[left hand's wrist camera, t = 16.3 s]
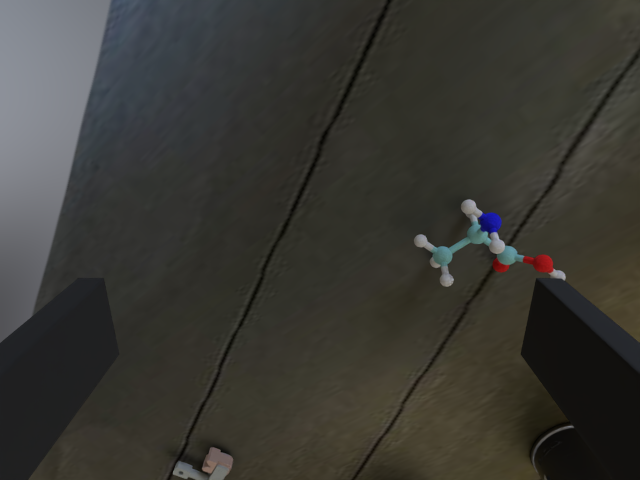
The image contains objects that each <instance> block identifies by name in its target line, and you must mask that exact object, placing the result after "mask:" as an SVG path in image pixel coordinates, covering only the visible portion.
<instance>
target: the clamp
mask: <svg viewBox="0 0 640 480" xmlns="http://www.w3.org/2000/svg"><path fill="white" fill-rule="evenodd" d="M220 451H221V450H219V449H217V448H214V447H211V448H210V451H209V454H208V455H206V457H205V460H204V464H203V467H202V469H203V471H205V472H208V474H206V473H203V472H200V471H197V470H195V469H192V467H193V466H192V465H189V464H187V463H184V462H181V461H178V462H177V464H176V466H175V469H174V472H173V474H174V475H176V476H179V477H182V478H185V479H187V478H188V477H190V478H193V479H196V480H224V477H225V476H226V475H228V473H229V471H230V470H231V467H232V463H233V458H232V456H230V455H228V454H226V453H222V452H220Z"/></svg>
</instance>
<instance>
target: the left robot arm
mask: <svg viewBox="0 0 640 480" xmlns="http://www.w3.org/2000/svg"><path fill="white" fill-rule="evenodd" d="M118 355H119V350H118V345H117V341H116V336H115V331H114V326H113V321H112V316H111V311H110V306H109V302H108V297H107V292H106V287H105V282H104V278H78V279H77V280H76V281H75V282H73V283H72V284H71V285H70V286H68V287H67V288H66V289H65V290H64V291H62V292H61V293H60V294H59V295H58V296H56V297H55V298H54V299H53V300H52V301H50V302H49V303H48V304H47V305H46V306H44V307H43V308H42V309H41V310H40V311H38V312H37V313H36V314H35V315H33V316H32V317H31V318H30V319H29V320H27V321H26V322H25V323H24V324H23V325H21V326H20V327H19V328H18V329H17V330H15V331H14V332H13V333H12V334H11V335H9V336H8V337H7V338H6V339H5V340H3V341H2V342H1V343H0V480H28V479H29V478H30V476H31V475H32V474H33V472H34V471H35V469H36V468H37V467H38V465H39V464H40V463H41V461H42V460H43V458H44V457H45V456H46V454H47V453H48V452H49V450H50V449H51V447H52V446H53V445H54V443H55V442H56V441H57V439H58V438H59V436H60V435H61V434H62V432H63V431H64V430H65V428H66V427H67V425H68V424H69V423H70V421H71V420H72V419H73V417H74V416H75V414H76V413H77V412H78V410H79V409H80V408H81V406H82V405H83V403H84V402H85V401H86V399H87V398H88V397H89V395H90V394H91V392H92V391H93V390H94V388H95V387H96V386H97V384H98V383H99V381H100V380H101V379H102V377H103V376H104V375H105V373H106V372H107V370H108V369H109V368H110V366H111V365H112V364H113V362H114V361H115V359H116V358H117V357H118ZM521 355H522V357H523V358H524V359H525V361H526V362H527V364H528V365H529V366H530V368H531V369H532V370H533V372H534V373H535V375H536V376H537V377H538V379H539V380H540V381H541V383H542V384H543V386H544V387H545V388H546V390H547V391H548V392H549V394H550V395H551V397H552V398H553V399H554V401H555V402H556V403H557V405H558V406H559V408H560V409H561V410H562V412H563V413H564V414H565V416H566V417H567V419H568V420H569V421H570V423H571V424H572V425H573V427H574V428H575V430H576V431H577V432H578V434H579V435H580V436H581V438H582V439H583V441H584V442H585V443H586V445H587V446H588V447H589V449H590V450H591V452H592V453H593V454H594V456H595V457H596V458H597V460H598V461H599V463H600V464H601V465H602V467H603V468H604V469H605V471H606V472H607V474H608V475H609V476H610V478H611V479H612V480H640V343H639V342H638V341H637V340H635V339H634V338H633V337H632V336H631V335H629V334H628V333H627V332H626V331H625V330H623V329H622V328H621V327H620V326H619V325H617V324H616V323H615V322H614V321H613V320H611V319H610V318H609V317H608V316H607V315H605V314H604V313H603V312H602V311H600V310H599V309H598V308H597V307H596V306H594V305H593V304H592V303H591V302H590V301H588V300H587V299H586V298H585V297H584V296H582V295H581V294H580V293H579V292H578V291H576V290H575V289H574V288H573V287H572V286H570V285H569V284H568V283H567V282H565V281H564V280H563V279H562V278H536V282H535V287H534V292H533V297H532V302H531V306H530V311H529V316H528V321H527V326H526V331H525V336H524V341H523V345H522V350H521Z"/></svg>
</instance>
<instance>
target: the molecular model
mask: <svg viewBox="0 0 640 480" xmlns="http://www.w3.org/2000/svg"><path fill="white" fill-rule="evenodd" d="M461 209H462V211H463V212H464V213H466V216H467V217H469V218H470V220H471V224H472V226H471V227H470V228H469V229H468V231H467V237H466V238H464V239H463V240H461V241H459V242H458V243H456V244H455V245H453V246H451V247H450V248H447V247H444V246H441V247H438V248H436V247H435V246H433V245H432V244H430V243H429V242H427V238H426V237H425V236H424V235H421V234H420V235H417V236H416V237H415V239H414V243H415V245H416V246H418V247H425V248H426V249H427V250H429V251H430V252H432V253H433V257H432V258H431V259H430V264H431V265H432V266H433V267H435V268H438V267H440V266H441V270H442V276H441V277H440V283H441V284H442V285H443V286H446V287H448V286H451V285H452V284H453V280H454V279H453V277H452V276H451V275H450V274H449V271H448V266H447V264H448V263H450V261H451V260H452V253H454V252H456V251H457V250H459V249H460V248H462V247H464V246H465V245H467V244H469V243H470V242H472V243H474V244H480V243H485V244H486V245H487V246H489V249H490V251H491V252H492V253H495V254H497V258H496V259H494V261H493V268H494V269H495V270H496V271H497V272H505V271H507V270H508V268H509V265H510V264H513V263H514V262H515V261H519V262H524V263H528V264H532V265H533V266H534V268H535V269H536V270H537V271H539V272H548V273H549V274H550V278H562V279H563V280H564V281H565V278H566V277H565V274H564V273H563V272H562V271H559V270H555V269H554V268H552V266H553V262H552V259H551V258H550V257H549V256H547V255H538V256H537V257H535V258H532V257H527V256H522V255H518V254H517V251H516V250H515V249H514V248H513V247H511V246H505V244H504V242H503V241H502V240H499V237H498V233H497V230H498V229H499V228H500V227H501V218H500V217H499V216H498V215H497V214H495V213H487V214H484V213H483V212H481V211H480V210H479V209H478V208H477V207H476V204H475V202H474V201H472V200H465V201H464V202H463V203H462V204H461ZM477 218H479V219H480V225H478V220H477ZM487 232H489V233H490V237H491V240H490V239H489V238H488V237H487V236H488V233H487Z"/></svg>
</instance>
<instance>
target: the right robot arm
mask: <svg viewBox="0 0 640 480" xmlns="http://www.w3.org/2000/svg"><path fill="white" fill-rule="evenodd" d="M531 462H532V464H533V466H534V468H535V470H536V471H537V473H538V474H539V475H540V477H541V479H542V480H612V479H611V478H610V476H609V475H608V474H607V472H606V471H605V469H604V468H603V467H602V465H601V464H600V463H599V461H598V460H597V458H596V457H595V456H594V454H593V453H592V452H591V450H590V449H589V447H588V446H587V445H586V443H585V442H584V441H583V439H582V438H581V436H580V435H579V434H578V432H577V431H576V430H575V428H574V427H573V425H572V424H571V423H566V424H562V425H559V426H556V427H554V428H552V429H550V430H548V431H546V432H545V433H544V434H542V435H541V436H540V437H539V438H538V439H537V441H536V442H535V443H534V445H533V447H532V450H531Z"/></svg>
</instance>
